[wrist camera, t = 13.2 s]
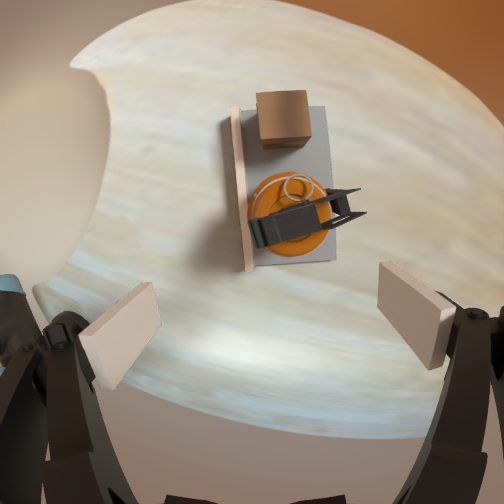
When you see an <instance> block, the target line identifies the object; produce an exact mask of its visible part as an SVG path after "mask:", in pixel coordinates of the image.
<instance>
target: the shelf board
mask: <svg viewBox="0 0 504 504" xmlns="http://www.w3.org/2000/svg"><path fill="white" fill-rule="evenodd" d="M308 108H309V115H310V123H311V132H312V137H311V138H310V139H309V141H308V142H307V143H306V145H305V146H304V147H295V148H279V149H266V150H263V147H262V143H261V140H260V136H259V125H258V116H257V109H256V110H246V111H240V109H239V106H235V107H230V113H231V116H230V123H231V134H232V145H233V146H234V157H235V168H236V179H237V190H238V194H237V199H238V210H239V220H240V225H241V231H242V242H243V252H244V262H245V272H246V271H254V267H255V266H258V265H272V264H286V263H300V262H314V261H327V260H336V228H334V229H330V232H329V234H328V236H327V238H326V239H325V241H324V242H323V243H322V244H321V246H320V247H318V248H317V249H316V250H315V251H313V252H311V253H309V254H307V255H304V256H301V257H293V258H289V257H283V256H279V255H275V254H273V253H271V252H269V251H267V250H266V249H264V248H261V249H258V248H255V245H254V242H253V239H252V236H251V233H250V230H249V226H248V223H247V222H248V220H247V209H248V204H249V200H250V198H251V196H252V194H253V192H254V190H255V189H256V188H257V187H258V185H259V184H260V183H262V182H263V181H264V180H265V179H267V178H269V177H270V176H272V175H275V174H278V173H282V172H298V173H301V174H305V175H307V176H309V177H311V178H313V179H314V180H316V181H317V182H318V183H319V184H320V185H321V186H322V187H323V188H324V189H327V188H330V189H333V176H332V164H331V154H330V144H329V135H328V127H327V119H326V112H325V106H308ZM333 218H335V213H334V212H333ZM333 218H332V219H333ZM334 223H335V222H333V224H334Z"/></svg>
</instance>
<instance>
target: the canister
mask: <svg viewBox="0 0 504 504" xmlns="http://www.w3.org/2000/svg"><path fill="white" fill-rule="evenodd" d="M360 189H361V188H358V189H350V190H341V189H339V190H338V189H330V188H327V189H324V188H323V187H322V186H321V185H320V184H319V183H318V182H317V181H316V180H314V179H313V178H311V177H309V176H307V175H305V174H301V173H298V172H282V173H278V174H275V175H272V176H270V177H269V178H267V179H265V180H264V181H263V182H262V183H260V184H259V185H258V187H257V188H256V189H255V190H254V192H253V194H252V196H251V198H250V200H249V204H248V209H247V220H248V222H247V223H248V226H249V230H250V233H251V236H252V239H253V242H254V245H255V248H258V249H261V248H264V249H266V250H267V251H269V252H271V253H273V254H275V255H279V256H283V257H289V258H293V257H301V256H304V255H307V254H309V253H311V252H313V251H315V250H316V249H317V248H318V247H320V246H321V244H322V243H323V242H324V241H325V239H326V238H327V236H328V234H329V232H330V229H334V228H336V227H338V226H340V225H342V224H345V223H347V222H349V221H351V220H353V219H355V218H357V217H360V216H362V215H364V214H366V213H367V212H351V211H350V207H349V204H348V200H347V196H346V194H349V193H352V192H355V191H358V190H360ZM333 212H334V213H336V214H338V215H340V216H338V217H335V218H333ZM348 216H350V217H348ZM345 217H347V218H345ZM332 218H333V219H332ZM343 218H345V219H343ZM340 219H343V220H341V221H339V222H337V223H334V224H333V222H335V221H338V220H340Z"/></svg>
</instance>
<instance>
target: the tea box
mask: <svg viewBox="0 0 504 504" xmlns="http://www.w3.org/2000/svg"><path fill="white" fill-rule="evenodd" d="M256 98H257V104H256V106H257V116H258V125H259V136H260V140H261V143H262V147H263V150H266V149H279V148H295V147H304V146H305V145H306V143H307V142H308V141H309V139H310V138H311V137H312V132H311V123H310V115H309V108H308V100H307V93H306V90H294V91H275V92H262V93H256Z"/></svg>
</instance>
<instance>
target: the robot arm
mask: <svg viewBox="0 0 504 504" xmlns="http://www.w3.org/2000/svg"><path fill="white" fill-rule="evenodd" d="M377 307H378V308H379V310H380V311H381V312H382V313H383V314H384V316H385V317H386V318H387V319H388V320H389V322H390V323H391V324H392V325H393V326H394V328H395V329H396V330H397V331H398V333H399V334H400V335H401V336H402V338H403V339H404V340H405V341H406V343H407V344H408V345H409V346H410V348H411V349H412V350H413V351H414V353H415V354H416V355H417V357H418V358H419V359H420V360H421V362H422V363H423V364H424V366H425V367H426V368H427V370H432V369H435V368H438V367H441V366H443V362H444V359H445V355H446V354H447V355H448V356H449V358H450V362H449V366H448V369H447V372H446V375H445V378H444V380H445V381H444V385H443V389H442V392H441V395H440V399H439V402H438V405H437V408H436V411H435V414H434V417H433V420H432V423H431V425H430V428H429V431H428V433H427V436H426V438H425V441H424V443H423V446H422V448H421V451H420V453H419V455H418V457H417V459H416V462H415V464H414V466H413V468H412V470H411V472H410V474H409V476H408V478H407V480H406V482H405V484H404V486H403V487H402V489H401V491H400V493H399V494H398V496H397V498H396V499H395V501H394V502H393V504H475V503H476V500H477V497H478V494H479V490H480V487H481V484H482V480H483V476H484V472H485V468H486V464H487V457H488V456H487V453H485V452H481V450H482V444H483V438H484V433H485V428H486V421H487V414H488V404H489V394H490V381H491V385H492V389H493V392H494V397H495V402H496V407H497V412H498V418H499V424H500V430H501V438H502V446H503V458H504V306H503V307H502V308H501V310H500V315H499V317H493V318H489V315H488V313H487V312H485V311H484V310H481V309H478V308H467V309H463V308H462V307H461V306H459V305H458V304H456V303H455V302H454V301H452V300H451V299H449V298H448V297H447V296H445V295H444V294H442V293H440V292H437V291H435V290H432V289H431V288H430V287H428V286H427V285H425V284H424V283H422V282H421V281H419V280H418V279H417V278H415V277H414V276H412V275H411V274H409V273H408V272H406V271H405V270H403V269H402V268H400V267H399V266H397V265H396V264H394V263H393V262H391V261H389V262H380V263H379V284H378V303H377ZM161 325H162V322H161V318H160V314H159V310H158V306H157V301H156V297H155V292H154V288H153V283H152V282H146V283H140V284H139V285H138V286H137V287H135V288H134V289H133V290H132V291H130V292H129V293H128V294H127V295H125V296H124V297H123V298H122V299H120V300H119V301H118V302H117V303H116V304H114V305H113V306H112V307H111V308H109V309H108V310H107V311H106V312H105V313H103V314H102V315H101V316H100V317H99V318H97V319H96V320H95V321H94V322H93V323H92V324H89V323H88V322H87V321H86V320H85V319H84V318H83V317H81V316H80V315H78V314H76V313H74V312H70V311H64V312H62V313H60V314H59V315H57V316H56V317H55V318H54V319H53V320H52V322H51V324H50V325H48V326H46V327H45V328H44V329H43V331H42V332H43V336H42V334H41V331H40V329H39V327H38V325H37V323H36V320H35V318H34V316H33V314H32V311H31V309H30V307H29V304H28V302H27V299H26V294H25V292H24V291H23V289H22V286H21V284H20V281H19V279H18V278H17V277H16V276H15V275H13V274H5V275H0V363H1V365H2V367H0V504H41V493H42V482H43V487H44V493H45V498H46V504H139V503H138V502H137V500H136V498H135V497H134V495H133V493H132V491H131V488H130V487H129V484H128V482H127V480H126V478H125V476H124V473H123V471H122V469H121V466H120V464H119V462H118V459H117V457H116V454H115V452H114V449H113V446H112V444H111V441H110V438H109V435H108V433H107V430H106V426H105V423H104V420H103V417H102V414H101V410H100V407H99V403H98V400H97V396H96V393H95V389H94V387H93V385H92V381H93V380H94V379H95V377H96V380H97V382H98V384H99V386H100V388H103V389H110V390H114V389H115V388H116V386H117V385H118V383H119V382H120V381H121V379H122V378H123V377H124V375H125V374H126V372H127V371H128V370H129V368H130V367H131V365H132V364H133V363H134V361H135V360H136V358H137V357H138V356H139V354H140V353H141V352H142V350H143V349H144V348H145V346H146V345H147V343H148V342H149V341H150V339H151V338H152V337H153V335H154V334H155V333H156V331H157V330H158V329H159V327H160V326H161ZM48 441H49V450H50V459H51V460H49V461H45V458H46V451H47V446H48ZM164 504H217V503H214V502H210V501H207V500H198V499H191V498H184V497H177V496H172V495H166V499H165V502H164ZM291 504H346V499H345V495H340V496H334V497H328V498H321V499H313V500H304V501H298V502H295V503H291Z"/></svg>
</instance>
